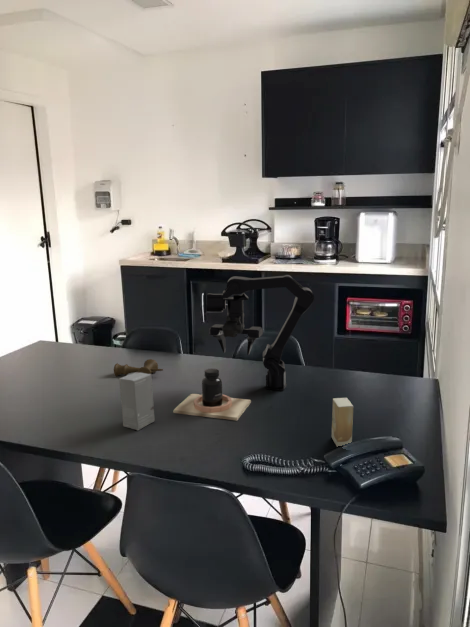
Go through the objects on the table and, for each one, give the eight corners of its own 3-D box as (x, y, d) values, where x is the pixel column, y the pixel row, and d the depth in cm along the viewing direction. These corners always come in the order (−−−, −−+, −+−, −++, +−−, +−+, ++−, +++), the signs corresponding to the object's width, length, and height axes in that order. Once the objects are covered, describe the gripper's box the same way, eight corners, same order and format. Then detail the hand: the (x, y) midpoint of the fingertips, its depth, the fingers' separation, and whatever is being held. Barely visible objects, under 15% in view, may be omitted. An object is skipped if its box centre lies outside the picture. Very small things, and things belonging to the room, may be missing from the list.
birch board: (250, 402, 173) (250, 399, 172) (237, 420, 159) (237, 417, 159) (191, 396, 179) (191, 393, 179) (173, 412, 166) (173, 410, 165)
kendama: (120, 372, 208) (167, 372, 205) (111, 381, 199) (160, 381, 196) (118, 358, 207) (165, 358, 204) (109, 366, 198) (159, 366, 194)
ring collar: (236, 399, 173) (236, 395, 172) (224, 414, 161) (223, 409, 161) (202, 396, 177) (202, 392, 176) (188, 410, 165) (188, 405, 165)
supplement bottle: (220, 409, 165) (219, 374, 162) (200, 408, 166) (198, 373, 164) (224, 401, 172) (223, 367, 169) (205, 400, 173) (204, 366, 170)
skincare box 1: (138, 431, 153) (134, 381, 149) (120, 426, 156) (117, 378, 153) (156, 421, 160) (153, 373, 156) (139, 416, 163) (136, 370, 160)
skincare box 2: (331, 437, 146) (331, 397, 144) (345, 436, 147) (346, 396, 144) (337, 447, 140) (338, 406, 137) (352, 446, 140) (353, 405, 138)
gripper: (202, 315, 176) (204, 358, 180) (254, 318, 170) (254, 362, 174) (214, 309, 187) (215, 349, 190) (262, 311, 181) (263, 353, 184)
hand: (236, 353), depth 184 cm, fingers open, 9 cm apart
